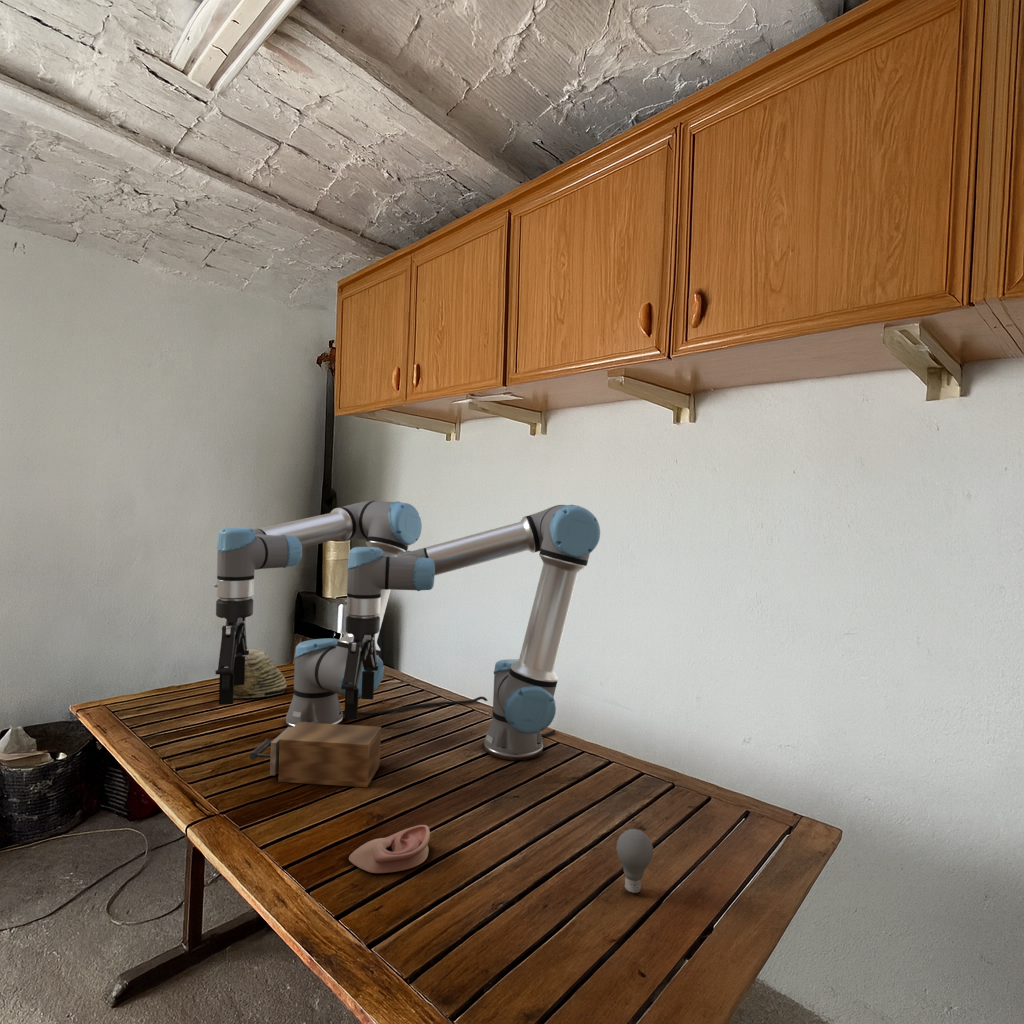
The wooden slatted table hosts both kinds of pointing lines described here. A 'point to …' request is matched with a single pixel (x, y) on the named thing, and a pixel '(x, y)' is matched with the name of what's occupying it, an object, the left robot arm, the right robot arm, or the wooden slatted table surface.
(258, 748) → the drawer
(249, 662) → the fossil
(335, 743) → the cabinet
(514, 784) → the wooden slatted table surface
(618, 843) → the light bulb
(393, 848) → the anatomical model
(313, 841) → the wooden slatted table surface
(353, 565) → the right robot arm
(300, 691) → the left robot arm
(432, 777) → the wooden slatted table surface
